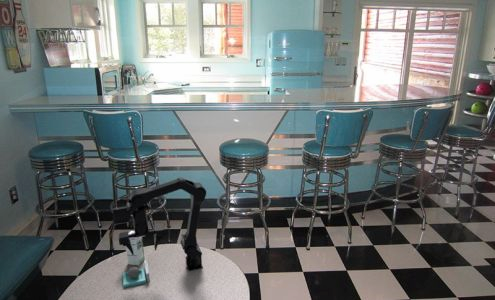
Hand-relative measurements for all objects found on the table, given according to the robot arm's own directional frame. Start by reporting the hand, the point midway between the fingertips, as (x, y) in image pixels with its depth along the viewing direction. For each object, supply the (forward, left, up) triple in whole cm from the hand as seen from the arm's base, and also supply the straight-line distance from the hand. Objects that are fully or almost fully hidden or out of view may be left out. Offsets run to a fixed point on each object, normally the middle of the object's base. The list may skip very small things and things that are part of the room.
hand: (144, 252), depth 149 cm
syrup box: (+4, -13, -12) cm, 18 cm away
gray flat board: (0, -1, -12) cm, 12 cm away
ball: (+5, 0, -11) cm, 12 cm away
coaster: (+5, 0, -12) cm, 13 cm away
